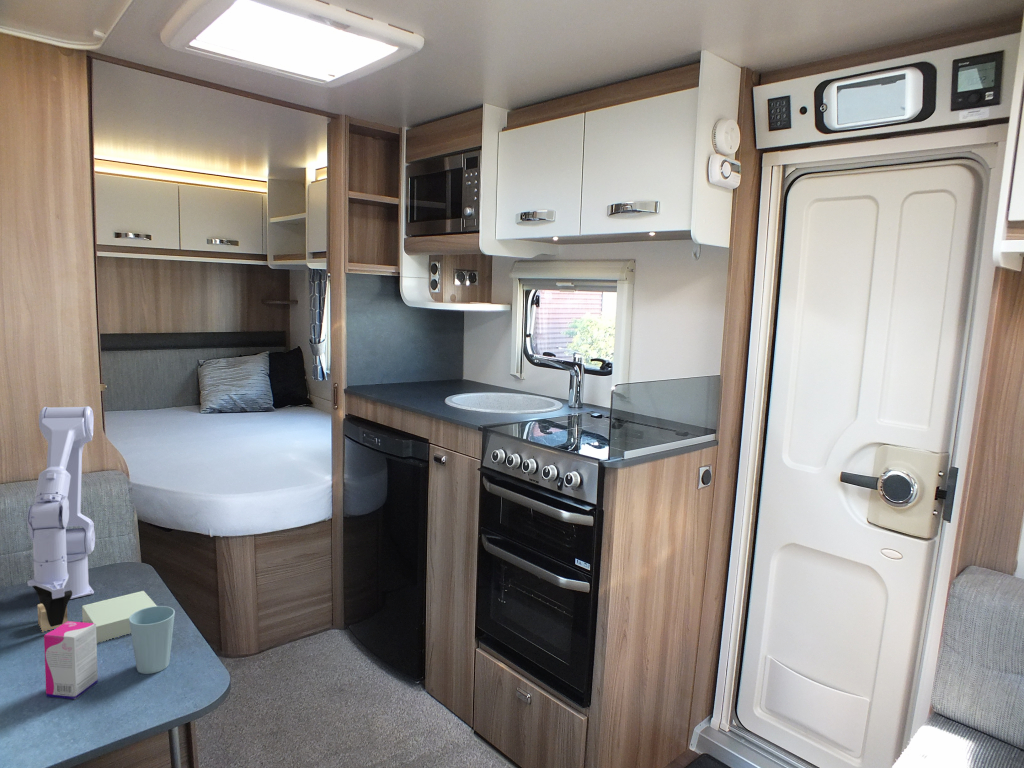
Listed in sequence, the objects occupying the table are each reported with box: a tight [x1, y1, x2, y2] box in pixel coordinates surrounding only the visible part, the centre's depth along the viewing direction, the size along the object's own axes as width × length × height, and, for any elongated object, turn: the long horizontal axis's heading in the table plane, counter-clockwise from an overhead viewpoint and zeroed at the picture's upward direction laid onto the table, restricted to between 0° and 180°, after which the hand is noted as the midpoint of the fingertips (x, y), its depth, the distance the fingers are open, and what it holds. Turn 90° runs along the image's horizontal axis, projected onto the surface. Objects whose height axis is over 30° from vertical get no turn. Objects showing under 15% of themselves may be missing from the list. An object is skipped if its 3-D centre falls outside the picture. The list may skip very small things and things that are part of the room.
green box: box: [81, 590, 158, 644], centre depth 143 cm, size 12×12×4 cm
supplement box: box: [43, 620, 99, 700], centre depth 118 cm, size 6×6×12 cm
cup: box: [129, 605, 176, 675], centre depth 127 cm, size 8×8×10 cm
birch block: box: [36, 603, 69, 633], centre depth 141 cm, size 4×4×4 cm
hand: (52, 618), depth 141 cm, fingers open, 6 cm apart
